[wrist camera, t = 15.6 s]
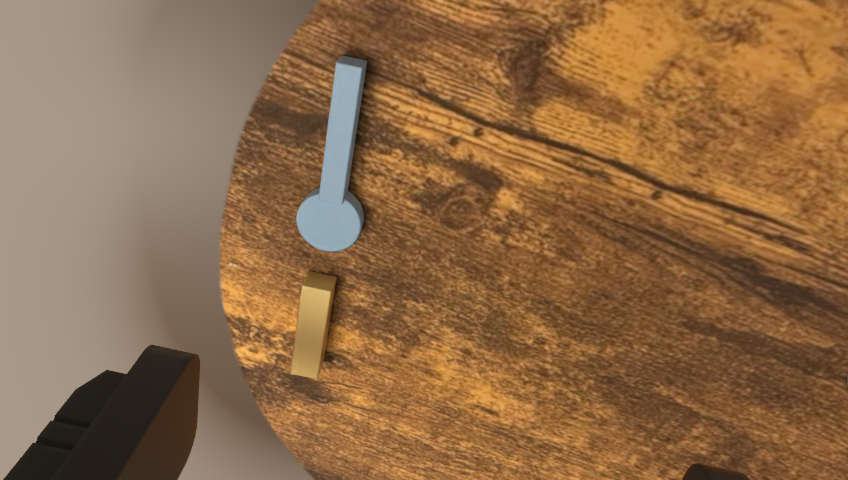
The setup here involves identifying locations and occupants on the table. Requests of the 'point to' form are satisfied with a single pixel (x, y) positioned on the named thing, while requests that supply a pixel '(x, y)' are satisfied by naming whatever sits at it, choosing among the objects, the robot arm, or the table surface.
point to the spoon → (337, 167)
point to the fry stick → (313, 324)
